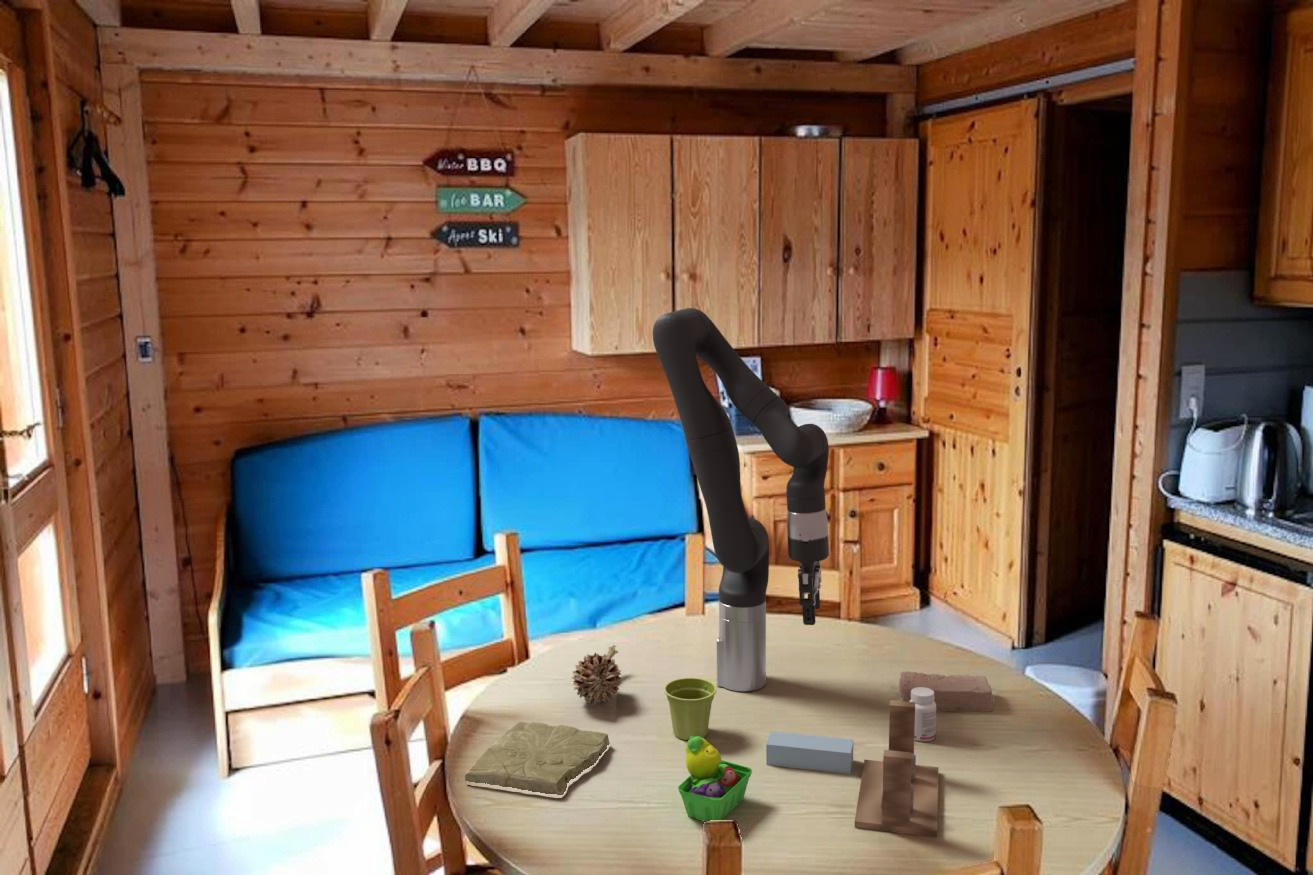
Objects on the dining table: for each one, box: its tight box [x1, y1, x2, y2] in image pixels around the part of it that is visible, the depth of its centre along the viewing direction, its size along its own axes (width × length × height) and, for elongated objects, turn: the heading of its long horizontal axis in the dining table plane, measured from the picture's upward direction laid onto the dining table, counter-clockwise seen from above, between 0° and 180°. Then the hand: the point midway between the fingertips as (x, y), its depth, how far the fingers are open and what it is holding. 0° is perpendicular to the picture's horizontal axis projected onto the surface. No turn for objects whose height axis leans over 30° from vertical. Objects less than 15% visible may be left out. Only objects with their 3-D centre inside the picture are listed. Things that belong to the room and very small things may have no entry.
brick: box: [898, 671, 995, 712], centre depth 207 cm, size 17×8×5 cm, turn 85°
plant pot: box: [663, 677, 718, 741], centre depth 195 cm, size 9×9×9 cm
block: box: [765, 731, 855, 775], centre depth 184 cm, size 5×14×4 cm, turn 75°
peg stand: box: [854, 699, 939, 838], centre depth 171 cm, size 12×20×12 cm, turn 165°
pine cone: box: [571, 644, 622, 706], centre depth 213 cm, size 22×10×10 cm, turn 175°
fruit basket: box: [677, 736, 753, 822], centre depth 170 cm, size 11×9×11 cm
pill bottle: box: [909, 687, 937, 743], centre depth 192 cm, size 5×5×8 cm
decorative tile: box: [464, 721, 611, 795], centre depth 185 cm, size 19×20×4 cm
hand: (811, 616), depth 205 cm, fingers open, 8 cm apart
